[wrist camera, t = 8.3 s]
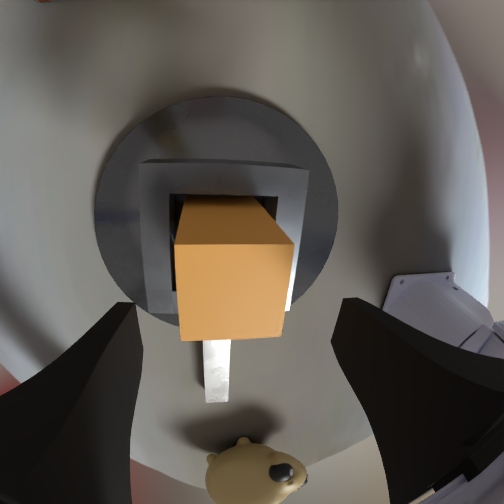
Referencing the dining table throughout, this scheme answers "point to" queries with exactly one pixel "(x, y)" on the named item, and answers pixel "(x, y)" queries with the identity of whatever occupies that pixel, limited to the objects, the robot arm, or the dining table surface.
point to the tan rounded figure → (253, 474)
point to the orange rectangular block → (230, 269)
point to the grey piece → (210, 183)
